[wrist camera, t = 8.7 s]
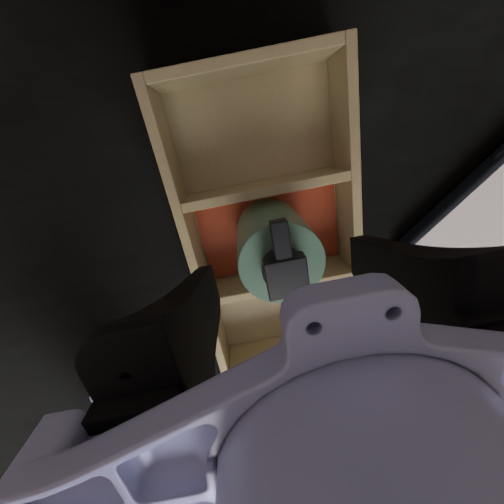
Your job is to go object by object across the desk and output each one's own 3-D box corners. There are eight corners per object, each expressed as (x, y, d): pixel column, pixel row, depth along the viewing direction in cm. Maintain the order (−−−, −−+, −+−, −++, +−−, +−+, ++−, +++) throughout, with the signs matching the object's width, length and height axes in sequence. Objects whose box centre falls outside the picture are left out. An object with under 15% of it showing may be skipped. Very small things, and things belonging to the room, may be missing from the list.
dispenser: (303, 253, 20) (340, 312, 13) (243, 264, 21) (248, 329, 14) (295, 184, 19) (333, 212, 11) (228, 198, 19) (225, 233, 12)
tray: (349, 325, 24) (366, 353, 21) (224, 348, 24) (222, 380, 21) (333, 48, 16) (357, 27, 13) (149, 86, 16) (129, 73, 13)
